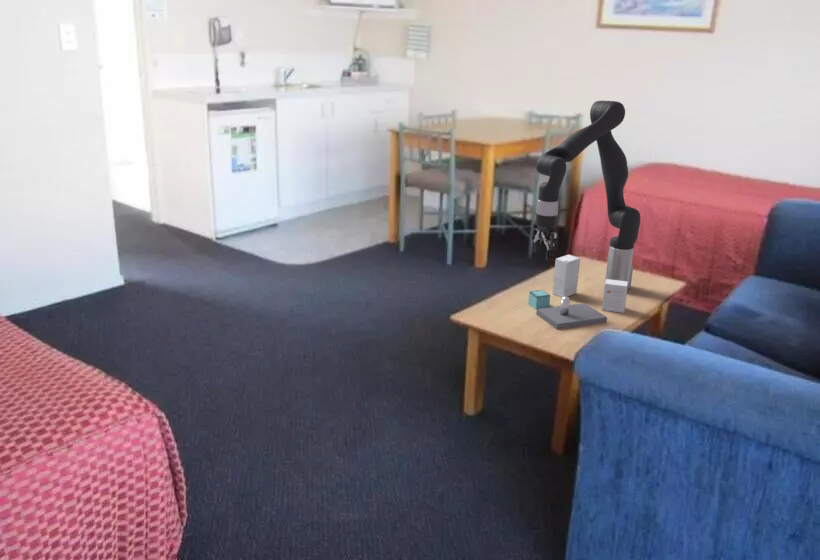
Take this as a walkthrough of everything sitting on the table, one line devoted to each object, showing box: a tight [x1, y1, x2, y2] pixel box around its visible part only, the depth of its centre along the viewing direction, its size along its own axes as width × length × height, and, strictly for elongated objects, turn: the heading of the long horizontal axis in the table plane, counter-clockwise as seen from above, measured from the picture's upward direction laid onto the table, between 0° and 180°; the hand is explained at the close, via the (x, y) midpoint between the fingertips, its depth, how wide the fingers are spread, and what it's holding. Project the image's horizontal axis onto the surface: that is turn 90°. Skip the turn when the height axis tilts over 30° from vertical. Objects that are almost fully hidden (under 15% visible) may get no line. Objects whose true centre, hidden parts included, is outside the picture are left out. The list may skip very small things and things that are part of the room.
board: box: [535, 302, 608, 330], centre depth 242 cm, size 20×14×2 cm
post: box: [560, 296, 571, 315], centre depth 240 cm, size 3×3×6 cm
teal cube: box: [527, 289, 551, 310], centre depth 253 cm, size 6×6×5 cm
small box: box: [601, 279, 628, 314], centre depth 250 cm, size 8×6×10 cm
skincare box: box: [551, 254, 581, 298], centre depth 263 cm, size 8×6×15 cm
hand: (543, 256), depth 247 cm, fingers open, 8 cm apart
